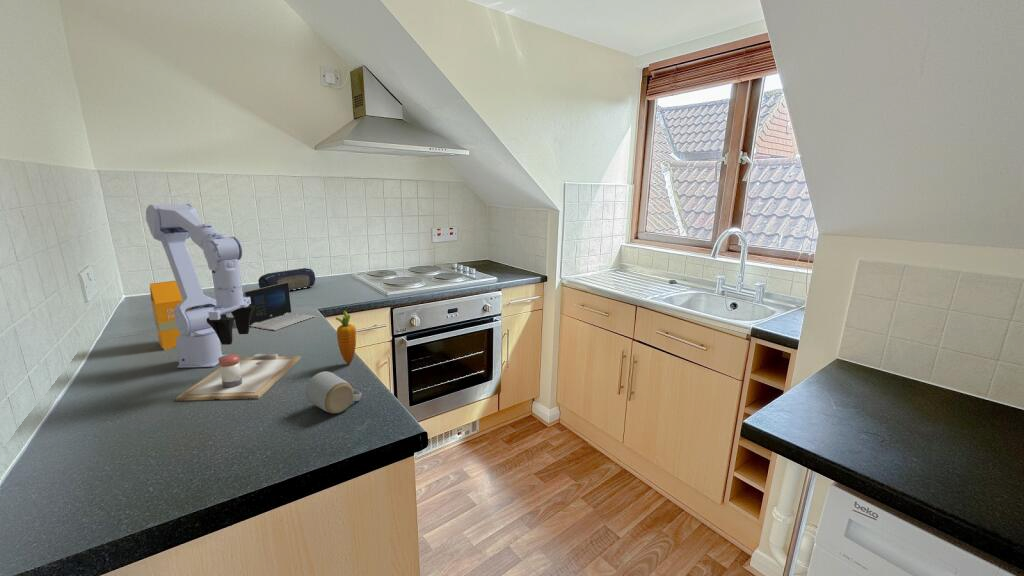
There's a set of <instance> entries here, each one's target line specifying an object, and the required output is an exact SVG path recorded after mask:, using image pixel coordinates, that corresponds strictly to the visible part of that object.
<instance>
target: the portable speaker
mask: <svg viewBox="0 0 1024 576" xmlns="http://www.w3.org/2000/svg"><path fill="white" fill-rule="evenodd" d="M286 282H288V286H289V290H293V289H298V288H304V287H310V286H312V287H313V286H314V285H315V283H316V275H315V272H314V270H313V269H311V268H307V267H304V268H296V269H290V270H289V269H288V270H282V271H275V272H269V273H266V274H263V275H261V276H259V278H258V282H257V283H258V287H259V289H260V288H264V287H268V286H273V285H277V284H282V283H286ZM310 288H311V287H310Z"/></svg>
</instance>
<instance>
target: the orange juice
mask: <svg viewBox="0 0 1024 576" xmlns="http://www.w3.org/2000/svg"><path fill="white" fill-rule="evenodd" d="M149 292H150V301H151V303H150V304H151V307H152V313H153V317H154V318H153V319H154V325H155V328H156V334H157V338H158V344H159V346H160V345H161V346H162V347H161V346H160V347H161V349H162V348H163V349H164V350H163V349H162V350H163V351H166V350H165V349H168V350H171V349H170V348H173V349H175V348H174V347H176V340H177V337H178V336H179V335H180V334H181V333H180V332H179V331H178V329H177V327H176V323H175V316H174V309H175V307H176V306H177V305H178V304H179V303H180V302H181V301H182V300H183V299H182V297H181V294H180V291H179V288H178V285H177V283H176V280H171V281H162V282H161V281H160V282H154V283H153V282H152V283H149ZM188 311H190V310H188Z"/></svg>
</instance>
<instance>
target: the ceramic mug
mask: <svg viewBox="0 0 1024 576" xmlns="http://www.w3.org/2000/svg"><path fill="white" fill-rule="evenodd" d="M305 397H306V399H307V401H308V402H309V403H310V404H312V405H314V406H315V407H318V408H319V409H321V410H323V411H324V412H327V413H329V414H340V413H342V412H344V411H345V410H347V409H348V408H350V407H349V406H350V405H351V404H352V402H359V401H360V400H361V398H362V392H361V391H359V390H357V389H354V388H353V387H352V385H351V384H350V383H349V382H348V381H346V380H345V379H343V378H341V377H340V376H338V375H337V374H336V373H333V372H331V371H324V370H323V371H321V372H318V373H316V374H315V375H313V376H312V377H311V378H310V379H309V381H308V382H307V385H306V386H305Z"/></svg>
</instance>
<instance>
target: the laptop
mask: <svg viewBox="0 0 1024 576" xmlns="http://www.w3.org/2000/svg"><path fill="white" fill-rule="evenodd" d="M244 297H250V299H251V304H249V305H253V306H255V310H254V312H253V314H252V317H251V321H250V326H252V327H256V328H255V329H259V328H261V330H268V331H278V330H281V329H284V328H287V327H290V326H292V324H293V325H295V324H294V323H296V324H298V323H297V322H299V323H301V322H300V321H302V322H304V321H303V320H305V321H307V320H306V319H308V320H310V319H309V318H311V319H313V318H315V317H316V316H315V315H311V314H303V313H302V314H303V315H299V316H298V314H299V313H297V312H295V313H296V316H294V315H293V316H290V315H289V316H286V314H289V313H292V307H291V295H290V291H289V286H288V282H286V283H282V284H277V285H273V286H268V287H264V288H260V287H259V288H256V289H252V290H247V291H244ZM282 315H283V316H282ZM312 317H313V318H312ZM291 318H292V319H291ZM289 325H290V326H289ZM286 326H287V327H286ZM252 327H251V328H252ZM283 327H284V328H283Z"/></svg>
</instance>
